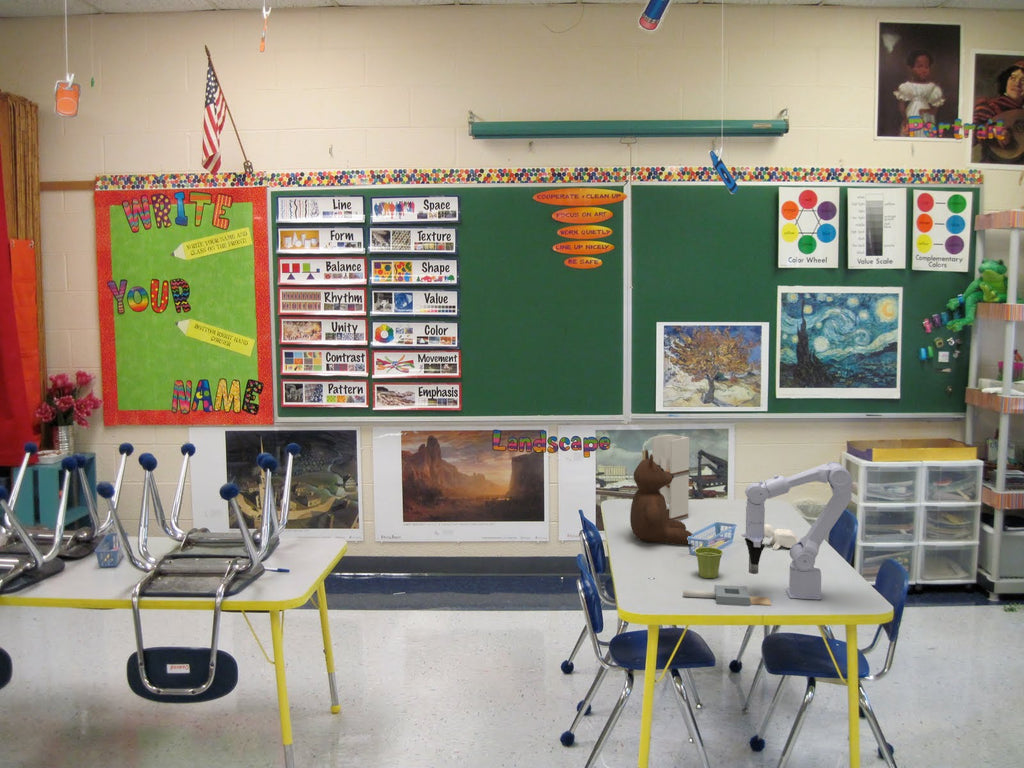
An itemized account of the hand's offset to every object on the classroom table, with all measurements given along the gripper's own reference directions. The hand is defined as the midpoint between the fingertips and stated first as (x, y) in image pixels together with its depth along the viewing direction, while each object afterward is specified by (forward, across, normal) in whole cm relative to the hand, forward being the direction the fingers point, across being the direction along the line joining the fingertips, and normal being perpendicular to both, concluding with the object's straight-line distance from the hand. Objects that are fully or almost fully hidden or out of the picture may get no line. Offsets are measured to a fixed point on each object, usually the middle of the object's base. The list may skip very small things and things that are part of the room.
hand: (754, 562), depth 269 cm
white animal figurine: (+10, -51, +15) cm, 54 cm away
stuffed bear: (+10, -53, -30) cm, 62 cm away
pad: (+10, +8, +1) cm, 13 cm away
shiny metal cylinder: (+3, 0, 0) cm, 3 cm away
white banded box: (+10, -86, -26) cm, 90 cm away
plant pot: (+10, -14, -13) cm, 22 cm away
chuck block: (+10, +7, -12) cm, 17 cm away
